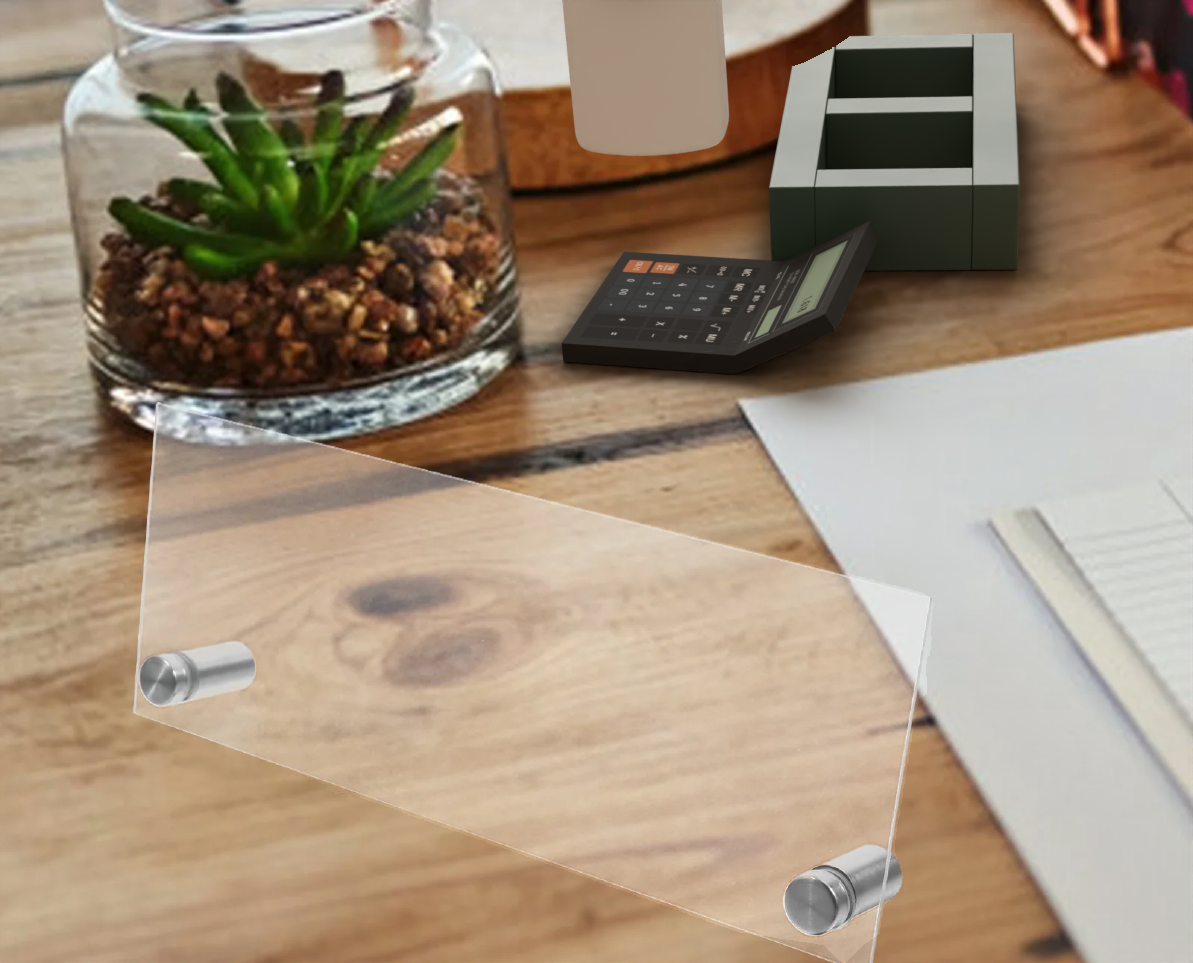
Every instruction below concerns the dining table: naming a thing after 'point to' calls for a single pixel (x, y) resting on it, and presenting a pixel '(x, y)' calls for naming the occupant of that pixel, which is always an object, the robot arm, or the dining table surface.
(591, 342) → the calculator
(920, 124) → the rack
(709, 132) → the eye dropper bottle
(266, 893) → the dining table surface
